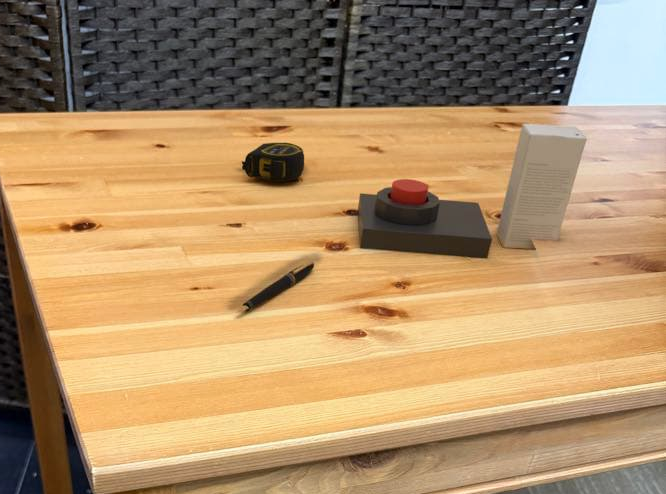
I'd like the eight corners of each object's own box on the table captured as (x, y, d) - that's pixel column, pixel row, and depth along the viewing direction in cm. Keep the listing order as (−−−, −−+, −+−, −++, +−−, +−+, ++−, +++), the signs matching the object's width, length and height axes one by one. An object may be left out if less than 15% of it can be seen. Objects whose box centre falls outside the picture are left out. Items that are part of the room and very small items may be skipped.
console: (474, 221, 97) (481, 186, 95) (487, 258, 89) (496, 222, 86) (357, 212, 97) (362, 177, 95) (359, 248, 89) (365, 211, 87)
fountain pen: (240, 321, 75) (241, 306, 74) (230, 318, 75) (231, 302, 74) (318, 271, 84) (319, 257, 83) (308, 268, 85) (310, 254, 84)
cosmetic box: (546, 237, 95) (578, 125, 87) (554, 251, 92) (589, 137, 84) (494, 233, 95) (522, 121, 87) (500, 248, 92) (530, 133, 84)
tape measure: (262, 166, 108) (264, 136, 105) (310, 176, 106) (313, 145, 104) (241, 181, 103) (242, 150, 101) (290, 191, 101) (292, 160, 99)
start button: (423, 196, 92) (426, 180, 91) (427, 209, 89) (430, 192, 88) (388, 193, 92) (391, 177, 91) (390, 206, 89) (393, 189, 88)
